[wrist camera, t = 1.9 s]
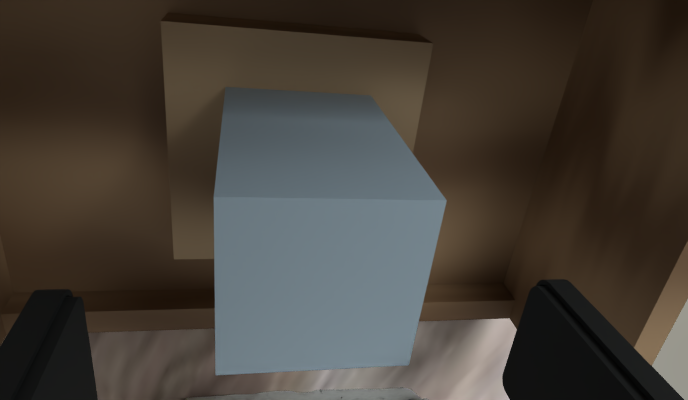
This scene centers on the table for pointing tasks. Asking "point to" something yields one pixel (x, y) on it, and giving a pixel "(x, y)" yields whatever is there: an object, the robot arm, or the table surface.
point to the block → (317, 234)
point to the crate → (401, 110)
